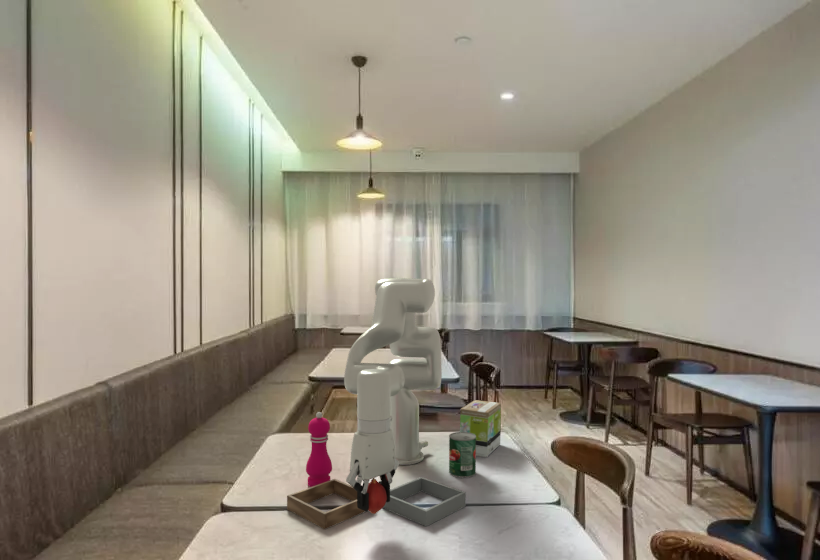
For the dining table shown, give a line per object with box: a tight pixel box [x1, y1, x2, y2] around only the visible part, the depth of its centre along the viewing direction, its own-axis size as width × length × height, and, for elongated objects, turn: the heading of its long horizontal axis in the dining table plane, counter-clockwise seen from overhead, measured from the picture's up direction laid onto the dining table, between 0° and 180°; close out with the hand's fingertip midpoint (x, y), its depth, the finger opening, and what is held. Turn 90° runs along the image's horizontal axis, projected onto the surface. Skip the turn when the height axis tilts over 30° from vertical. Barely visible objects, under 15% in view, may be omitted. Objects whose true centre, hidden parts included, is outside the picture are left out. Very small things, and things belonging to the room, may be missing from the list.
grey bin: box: [382, 476, 467, 527], centre depth 135 cm, size 15×15×4 cm
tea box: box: [459, 399, 502, 458], centre depth 179 cm, size 15×10×15 cm, turn 155°
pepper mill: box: [305, 411, 333, 488], centre depth 149 cm, size 7×7×20 cm
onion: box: [367, 478, 387, 515], centre depth 121 cm, size 6×6×8 cm
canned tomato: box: [448, 431, 477, 479], centre depth 158 cm, size 8×8×11 cm
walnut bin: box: [286, 478, 367, 530], centre depth 133 cm, size 15×15×4 cm
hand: (373, 503), depth 121 cm, fingers closed on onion, 5 cm apart
